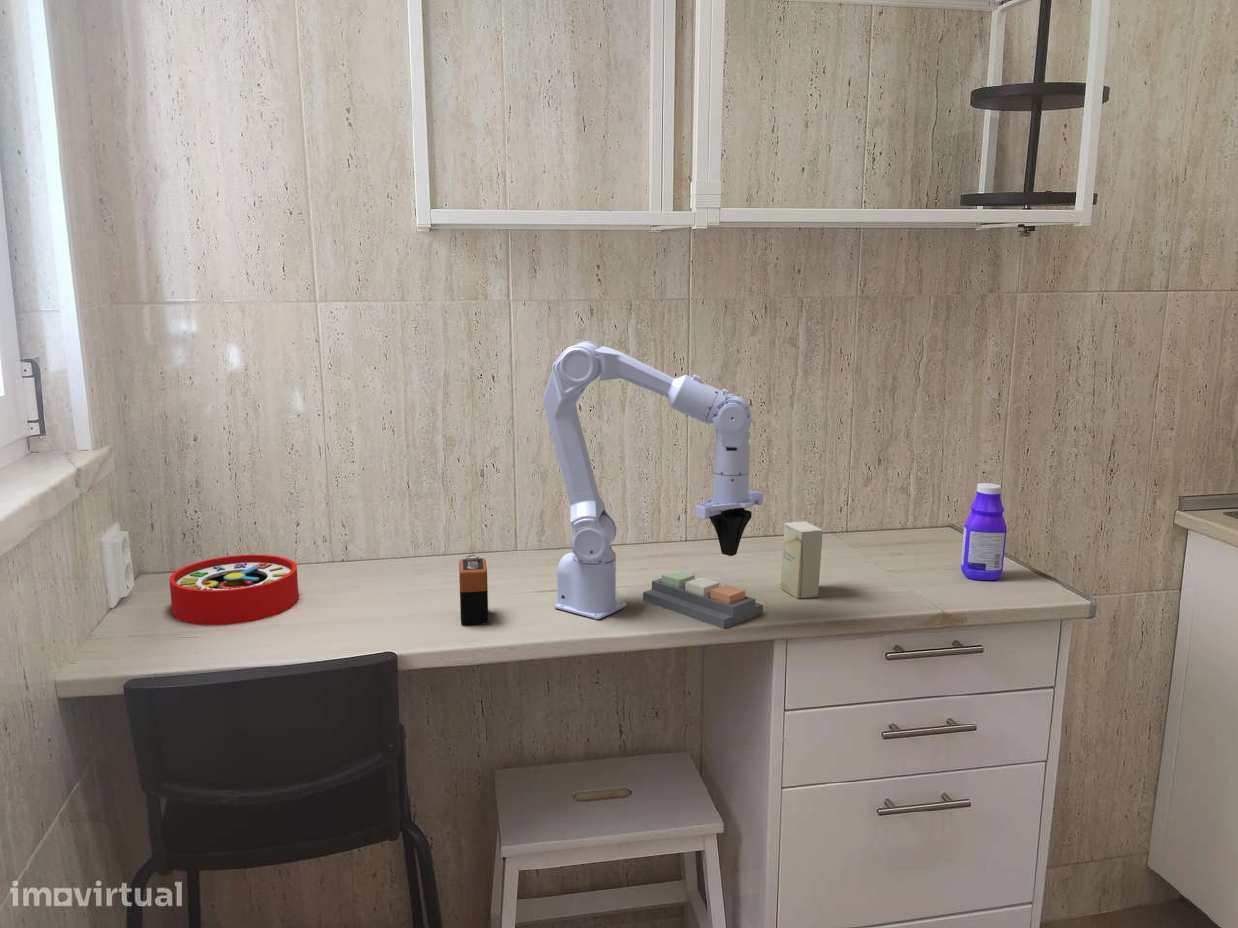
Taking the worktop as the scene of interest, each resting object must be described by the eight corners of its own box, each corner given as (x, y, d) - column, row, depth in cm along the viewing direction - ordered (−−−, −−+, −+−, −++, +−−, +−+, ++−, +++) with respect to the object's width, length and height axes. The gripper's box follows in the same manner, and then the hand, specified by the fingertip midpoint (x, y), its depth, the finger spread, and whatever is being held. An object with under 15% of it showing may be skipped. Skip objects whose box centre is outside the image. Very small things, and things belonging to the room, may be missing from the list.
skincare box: (779, 588, 175) (782, 522, 172) (801, 585, 176) (804, 520, 174) (798, 599, 169) (801, 531, 167) (820, 596, 171) (823, 529, 168)
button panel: (642, 600, 168) (643, 583, 168) (682, 587, 175) (682, 571, 175) (723, 628, 156) (724, 610, 155) (763, 613, 162) (763, 595, 162)
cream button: (685, 591, 165) (685, 582, 165) (701, 586, 168) (701, 577, 167) (703, 597, 162) (703, 587, 162) (719, 591, 165) (719, 582, 165)
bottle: (997, 572, 184) (1004, 481, 181) (1005, 582, 179) (1013, 488, 175) (957, 571, 185) (964, 480, 181) (964, 581, 179) (971, 487, 176)
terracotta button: (710, 599, 161) (710, 590, 161) (726, 593, 164) (726, 584, 163) (729, 605, 158) (729, 595, 158) (745, 599, 161) (745, 590, 161)
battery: (487, 610, 164) (485, 552, 162) (488, 624, 157) (487, 564, 155) (460, 611, 163) (458, 553, 161) (461, 626, 156) (459, 566, 154)
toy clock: (141, 584, 159) (224, 550, 178) (144, 618, 160) (226, 581, 179) (246, 596, 153) (320, 560, 172) (249, 632, 154) (322, 592, 173)
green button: (661, 583, 169) (661, 574, 168) (677, 578, 172) (677, 569, 171) (678, 589, 166) (678, 580, 166) (694, 583, 169) (694, 575, 168)
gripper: (720, 483, 149) (718, 569, 152) (779, 469, 159) (776, 550, 162) (686, 475, 154) (684, 559, 157) (744, 463, 164) (742, 541, 167)
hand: (728, 554), depth 160 cm, fingers closed
